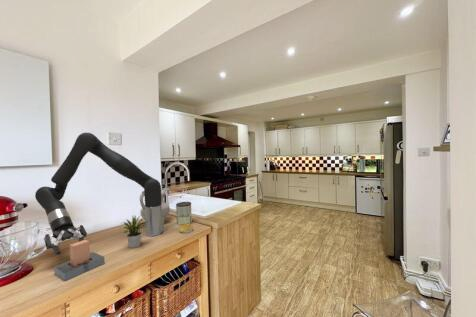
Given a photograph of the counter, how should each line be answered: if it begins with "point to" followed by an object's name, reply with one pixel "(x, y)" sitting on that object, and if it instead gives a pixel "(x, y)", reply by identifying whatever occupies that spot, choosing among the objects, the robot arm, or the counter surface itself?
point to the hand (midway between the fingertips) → (71, 249)
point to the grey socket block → (78, 267)
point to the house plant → (134, 232)
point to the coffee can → (183, 213)
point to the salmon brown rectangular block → (79, 253)
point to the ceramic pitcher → (164, 205)
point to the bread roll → (185, 228)
